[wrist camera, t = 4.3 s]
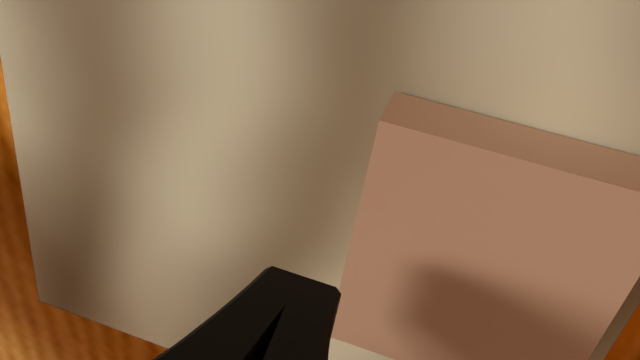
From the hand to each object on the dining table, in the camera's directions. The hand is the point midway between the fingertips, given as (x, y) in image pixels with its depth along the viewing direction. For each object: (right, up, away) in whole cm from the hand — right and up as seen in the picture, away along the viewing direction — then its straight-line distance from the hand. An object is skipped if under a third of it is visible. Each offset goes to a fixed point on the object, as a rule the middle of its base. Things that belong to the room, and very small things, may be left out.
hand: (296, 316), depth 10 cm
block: (+1, +2, +3) cm, 3 cm away
